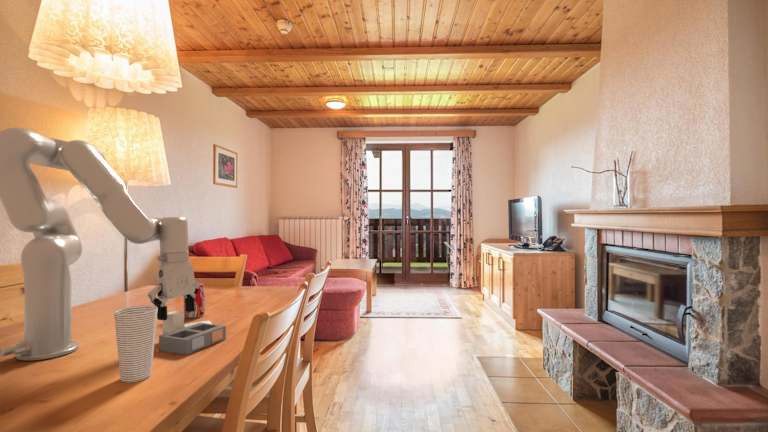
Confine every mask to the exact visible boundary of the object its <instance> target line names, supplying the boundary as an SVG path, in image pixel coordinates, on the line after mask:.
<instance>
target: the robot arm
mask: <svg viewBox="0 0 768 432" xmlns="http://www.w3.org/2000/svg"><path fill="white" fill-rule="evenodd" d="M30 164H32V165H36V166H41V167H45V168H47V167H48V168H52V169H56V170H63V171H67V172H69V173H71V175H72V176H73V177H74V178H75V180H77V181H78V182H79V184H80V185H81V186H82V187H83V188H84V189H85V191H87V193H89V195H90V196H91V197H92V198H93V200H94V201H95V203H96V204H97V206H98V207H99V209H100V210H101V211H102V213H103V214H104V215H105V217H106V218H107V219H108V221H109V222H110V223H111V224H112V226H113V227H114V228H116V230H118V232H119V233H120V234H121V235H122V236H123V237H124V238H125V240H127V241H129V242H130V243H132V244H136V245H140V244H141V245H142V244H146V243H151V242H156V241H159V256H157V261H158V262H159V264H158V268H157V272H156V273H157V275H156V285H155V287H154V288H153V289H151V291H149V292H148V293H147V297H148V298H149V300H150V303H152V304H153V306H156V307H157V308H158V312H157V321H163V320H167V313H168V307H167V305H166V304H167V303H168V301H169V299H176V298H180V297H184V295H185V296H186V297H187V298H185V311H190V312H193V311H195V305H194V298H196V294H197V292H198V289H199V286H200V283H201V282H200V281H198V280H195V272H194V271H195V270H194V268H193V267H194V266H193V263H192V261H191V260H189V259H190V256H189V255H190V252H189V229H188V228H189V227H188V223H189V222H188V219H187V218H186V217H184V216H166V217H151V216H146V215H145V213H144V212H143V211H142V210H141V209H140V208H139V207H138V206H137V205H136V203H135V202H134V200H133V199H132V198H131V196H130V194H129V193H128V189H127V185H126V184H125V182H124V181H123V179H122V177H120V176H119V175H118V174H117V172H116V171H115V170H114V169H113V168H112V167H111V166H110V164H108V162H107V161H106V157H105V154H104V153H103V152H102V151H101V149H99V148H98V147H97V146H95V145H93V144H91V143H90V142H87V141H84V140H79V139H75V140H74V139H73V140H70V141H68V140H61V139H57V138H53V137H48V136H46V135H44V134H42V133H39V132H36V131H34V130H33V129H29V128H26V127H25V128H24V127H19V126H18V127H16V126H15V127H7V128H4V129H1V130H0V201H1V203H2V205H3V208H4V210H5V212H6V214H7V216H8V220H9V221H10V223H11V225H12V226H13V227H14V228H15V229H16V230H18V231H20V232H23V233H32V234H33V237H34V238H32V239H31V240H29V241H28V242H27V243H26V244H25V246H24V247H23V249H22V251H21V255H20V262H21V268H22V273H23V282H24V287H23V289H24V337H23V339H22V338H21V339H19V343H15V345H13V346H8V347H5V348H1V349H0V356H1V357H6V356H10V355H12V354H13V356H15V357H16V360H19V361H27V362H28V361H32V362H33V361H40V360H47V359H53V358H58V357H61V356H64V355H68V354H70V353H72V352H75V351H77V350H78V349H79V343H78V342H77V341H74V340H72V278H71V272H70V266H71V265H72V264H74V263H76V262H77V261H79V259H80V258H81V256H82V253H83V245H82V242H81V239H80V237H79V235H78V232H77V230H76V228H75V226H74V224H73V222H72V219H71V216H70V215H69V213H68V211H67V209H66V208H65V207H64V206H63V205H62V204H61V203H59V201H56V200H54V199H51V198H47V197H46V195H45V193H44V191H43V189H42V186H41V184H40V181H39V179H38V177H37V175H36V174H35V172H34V171H33V169H32V168H31V165H30Z"/></svg>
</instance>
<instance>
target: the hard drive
mask: <svg viewBox="0 0 768 432" xmlns="http://www.w3.org/2000/svg"><path fill="white" fill-rule="evenodd" d="M197 323H207V324H213V323H212V321H210V320H203V321H197V322H190V323H184V328H185V327H188V326H191V325H194V324H197Z"/></svg>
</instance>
